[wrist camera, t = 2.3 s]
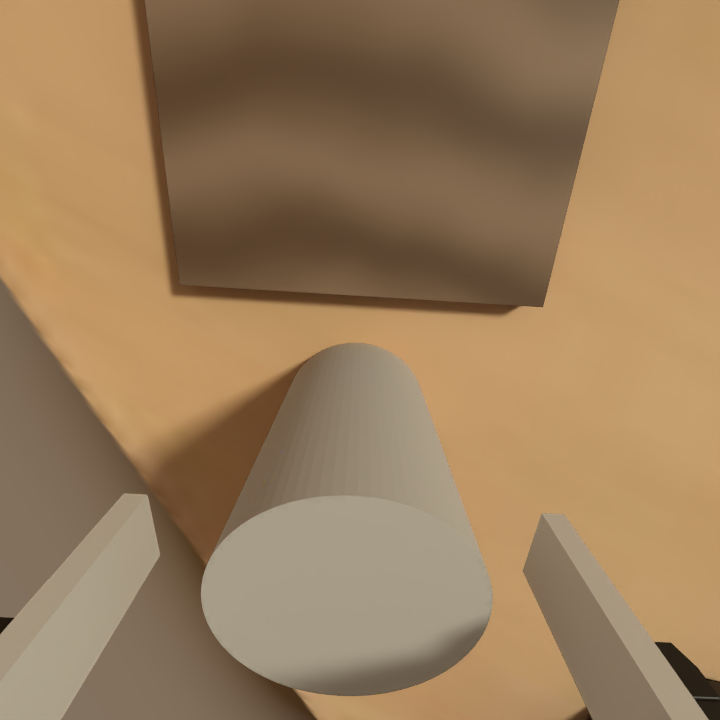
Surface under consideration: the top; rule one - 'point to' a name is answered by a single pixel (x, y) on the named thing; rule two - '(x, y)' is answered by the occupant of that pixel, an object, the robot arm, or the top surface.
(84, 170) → the top surface
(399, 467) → the beige cylinder
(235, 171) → the walnut board
